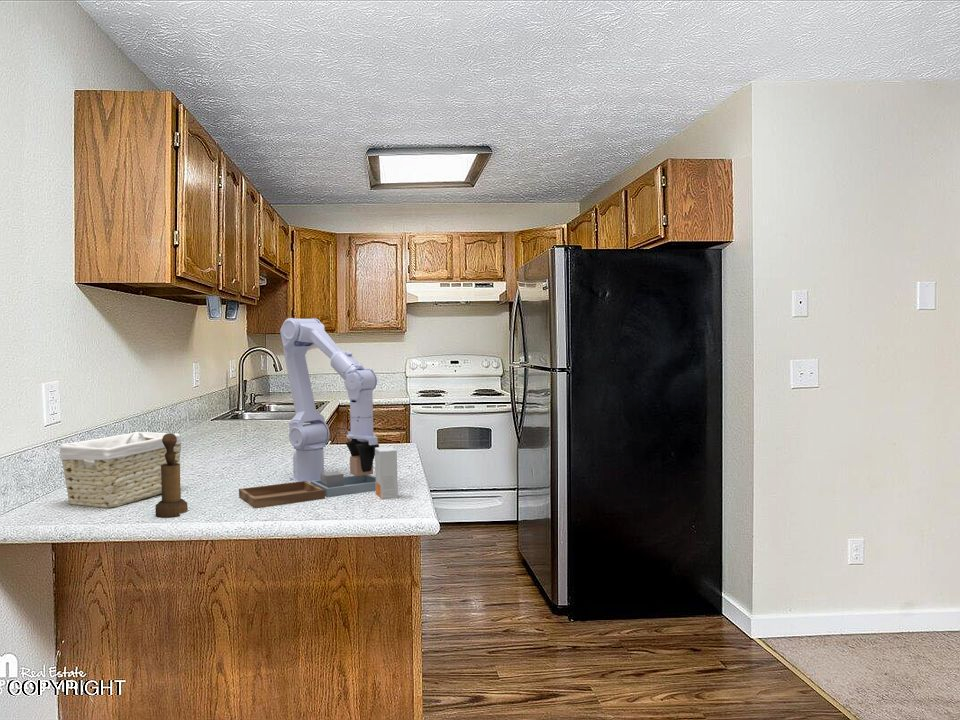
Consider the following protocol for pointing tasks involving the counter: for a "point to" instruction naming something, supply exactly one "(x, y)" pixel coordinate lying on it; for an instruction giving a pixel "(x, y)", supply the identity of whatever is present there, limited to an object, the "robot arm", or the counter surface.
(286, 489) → the walnut bin
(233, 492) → the counter surface
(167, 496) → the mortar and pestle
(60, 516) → the counter surface
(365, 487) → the slate tray
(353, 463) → the russet cube
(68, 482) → the storage basket
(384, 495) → the skincare box
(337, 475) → the grey cube
